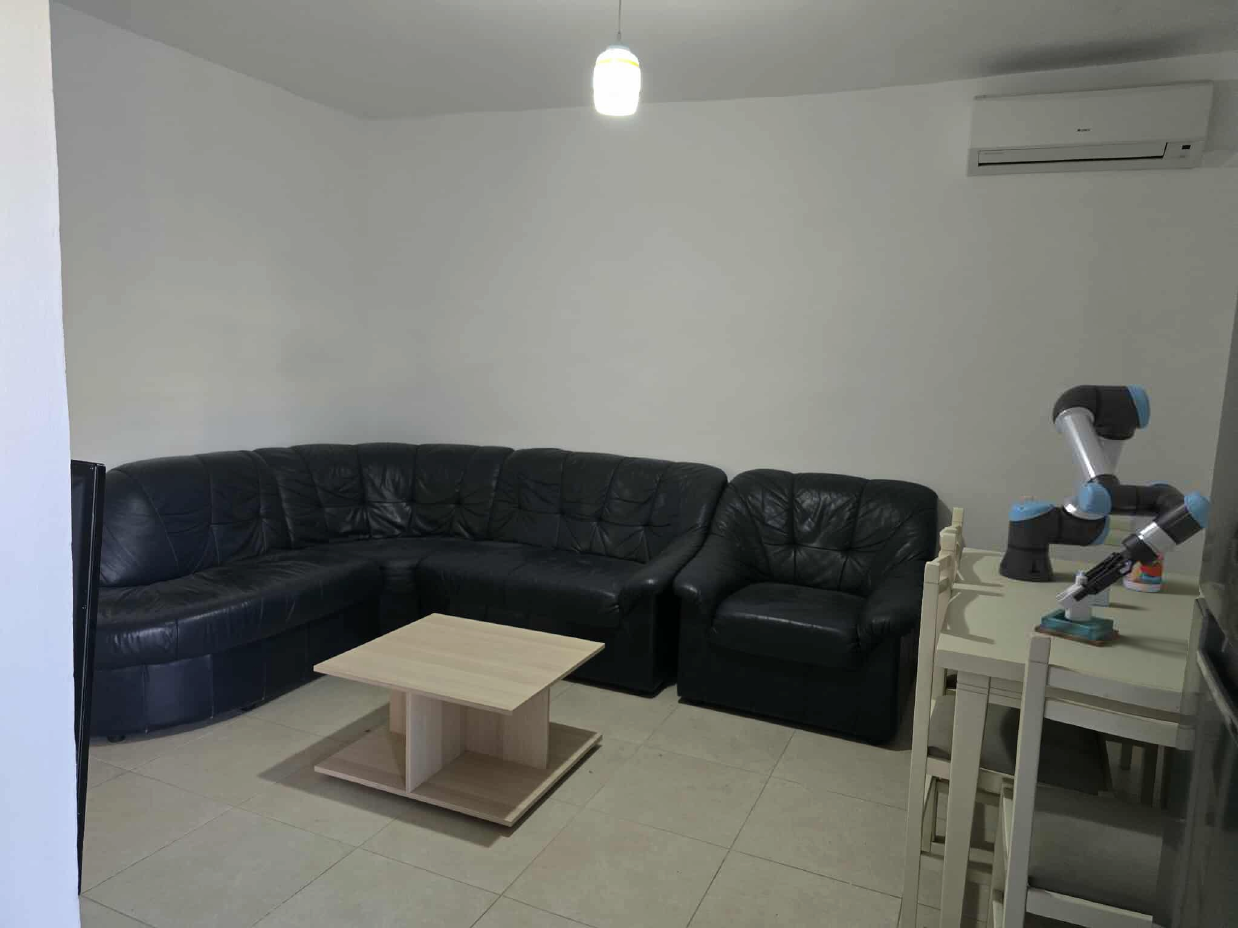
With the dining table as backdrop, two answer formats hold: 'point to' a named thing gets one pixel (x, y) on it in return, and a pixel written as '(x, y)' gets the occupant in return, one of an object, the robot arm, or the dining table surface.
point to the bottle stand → (1078, 628)
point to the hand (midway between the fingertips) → (1061, 603)
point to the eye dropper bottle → (1084, 607)
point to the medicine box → (1099, 595)
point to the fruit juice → (1144, 575)
